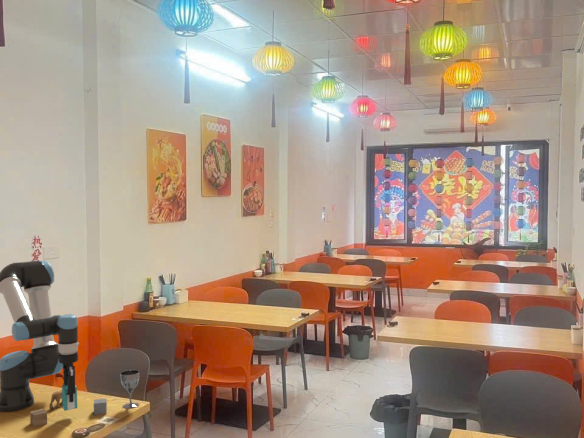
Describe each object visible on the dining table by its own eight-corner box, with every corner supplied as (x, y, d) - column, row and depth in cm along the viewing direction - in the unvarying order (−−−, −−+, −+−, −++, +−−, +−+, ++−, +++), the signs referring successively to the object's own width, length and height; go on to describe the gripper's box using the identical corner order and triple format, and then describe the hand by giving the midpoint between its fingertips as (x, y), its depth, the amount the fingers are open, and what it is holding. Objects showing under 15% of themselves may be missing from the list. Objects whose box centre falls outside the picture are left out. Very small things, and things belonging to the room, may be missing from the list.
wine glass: (128, 401, 245) (127, 368, 244) (143, 403, 242) (142, 370, 242) (117, 408, 237) (116, 374, 237) (133, 409, 235) (132, 375, 234)
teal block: (62, 406, 228) (61, 385, 228) (74, 404, 231) (74, 383, 231) (64, 410, 224) (64, 389, 224) (77, 408, 227) (76, 387, 226)
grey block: (94, 411, 235) (94, 399, 234) (106, 409, 236) (106, 398, 236) (93, 415, 230) (93, 403, 230) (106, 413, 231) (106, 402, 231)
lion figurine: (64, 398, 250) (63, 379, 250) (75, 398, 250) (74, 379, 249) (46, 410, 236) (45, 390, 235) (57, 411, 235) (57, 390, 235)
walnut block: (30, 423, 222) (30, 411, 222) (43, 420, 225) (42, 408, 225) (34, 427, 218) (33, 415, 218) (47, 423, 222) (46, 411, 221)
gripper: (82, 356, 221) (83, 412, 222) (73, 345, 236) (75, 398, 237) (62, 359, 217) (64, 416, 218) (55, 348, 232) (56, 401, 233)
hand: (69, 406), depth 227 cm, fingers closed on teal block, 5 cm apart
